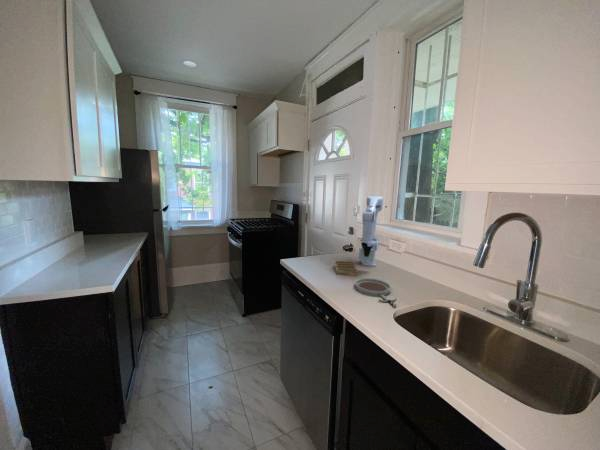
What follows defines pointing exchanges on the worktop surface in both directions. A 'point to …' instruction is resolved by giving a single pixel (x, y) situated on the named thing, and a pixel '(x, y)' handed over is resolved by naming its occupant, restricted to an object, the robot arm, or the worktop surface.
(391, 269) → the worktop surface
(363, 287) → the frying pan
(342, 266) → the rack
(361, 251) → the upright pale blue slab
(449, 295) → the worktop surface
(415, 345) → the worktop surface
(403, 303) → the worktop surface
